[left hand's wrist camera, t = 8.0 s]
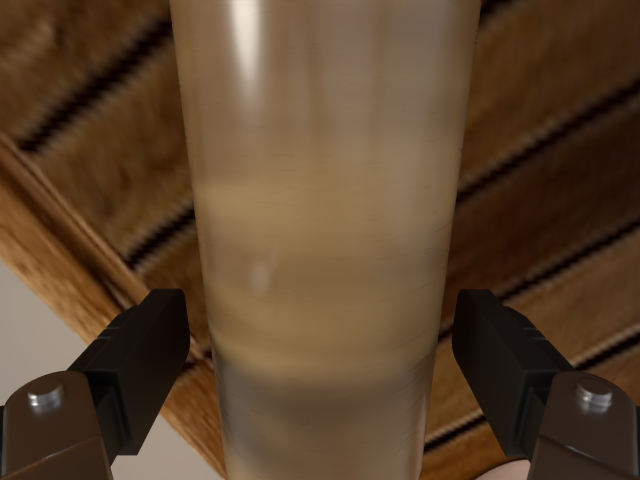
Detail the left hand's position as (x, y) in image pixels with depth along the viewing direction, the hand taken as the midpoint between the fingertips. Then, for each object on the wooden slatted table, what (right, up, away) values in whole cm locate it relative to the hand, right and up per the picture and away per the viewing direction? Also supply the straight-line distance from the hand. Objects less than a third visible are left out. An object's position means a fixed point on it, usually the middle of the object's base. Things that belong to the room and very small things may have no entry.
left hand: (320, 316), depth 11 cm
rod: (0, +9, 0) cm, 9 cm away
